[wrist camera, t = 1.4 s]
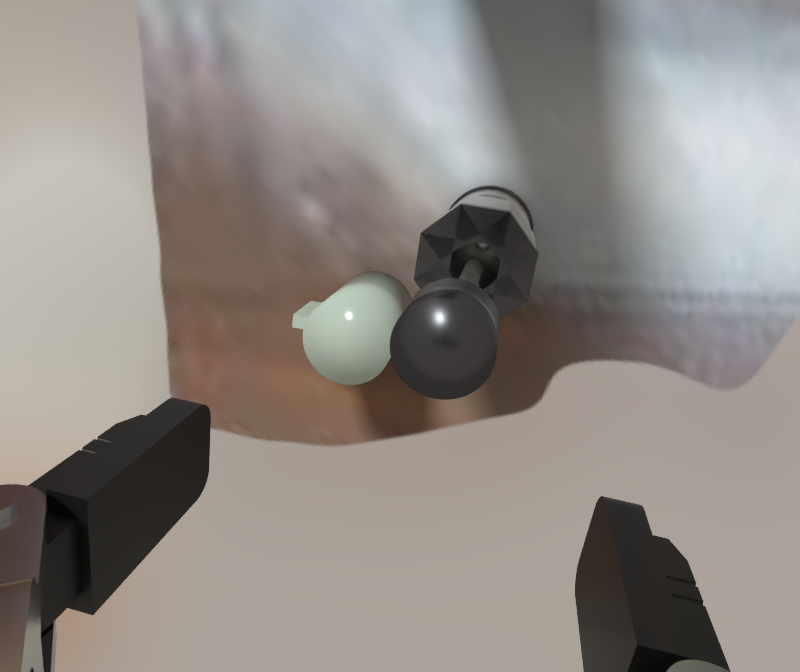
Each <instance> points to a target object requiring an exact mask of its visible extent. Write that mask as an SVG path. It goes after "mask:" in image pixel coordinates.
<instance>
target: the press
mask: <svg viewBox="0 0 800 672" xmlns="http://www.w3.org/2000/svg"><path fill="white" fill-rule="evenodd" d="M537 256H538V250H537V249H536V241H535V234H534V233H533V223H532V218H531V214H530V212H529V210H528V208H527V206H526V204H525V203H524V202H523V201H522V200H521V199H520V198H519V197H518V196H517V195H516V194H514V193H513V192H511V191H509V190H507V189H505V188H502V187H498V186H482V187H477V188H474V189H472V190H470V191H468V192H466V193H465V194H463V195H462V196H461V197H459V198H458V199H457V200H456V201H455V202H454V204H453V205H452V206H451V208H450V209H449V211H447V212H446V213H445V214H443V215H442V216H441V217H439V218H438V219H437V220H436V221H435V222H434V223H433V224H431V225H430V226H429V227H428V228H426V229H425V230H424V231H422V232H421V235H420V242H419V249H418V255H417V262H416V268H415V275H414V280H415V282H416V283H417V285H418V286H419V287H420V289H422V288H423V287H424V286H426V285H428V284H429V283H432V282H434V281H437V280H440V279H446V278H456V279H459V277H460V275H461V273H462V271H463V269H464V266H465V264H466V263H467V261H469V260H471V259H477V260H479V261H480V262H481V263H482V265H483V271H482V274H481V277H480V280H479V284H478V286H479V287H480V288H481V289H483V290H484V291H485V292H486V293H487V294H488V295H489V296H490V298H491V299H492V301H493V302H494V304H495V306H496V308H497V311H498V315H499V318H501V317H503V316H504V315H506V314H507V313H509V312H510V311H512V310H514V309H515V308H517V307H518V306H520V305H522V304H523V303H525V302H526V301H528V297H529V292H530V288H531V283H532V279H533V274H534V270H535V265H536V261H537Z"/></svg>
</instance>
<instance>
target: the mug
mask: <svg viewBox="0 0 800 672" xmlns="http://www.w3.org/2000/svg"><path fill="white" fill-rule="evenodd" d="M411 300H412V299H411V296H410V294H409V292H408V290H407V289H406V287H405V286H404V285H403V284H402V283H401V282H400V281H399V280H398V279H396V278H395V277H393V276H391V275H389V274H387V273H383V272H378V271H370V272H365V273H362V274H359V275H357V276H356V277H354V278H353V279H351V280H350V281H349V282H348V283H346V284H345V285H344V286H343V287H341V288H340V289H339V290H338V291H337V292H335V293H334V294H333V295H332V296H330V297H329V298H328V299H327V300H325V301H324V302H323V303H320V302H315V301H310V302H309V303H308V304H307V305H305V306H304V307H303V308H301V309H300V310H299V311H297V312H296V313H295V314H293V325H292V327H295V328H300V329H304V330H303V345H304V349H305V353H306V355H307V357H308V359H309V361H310V363H311V364H312V365H313V367H314V368H315V369H316V370H317V371H318V372H319V373H320V374H321V375H323V376H324V377H326V378H327V379H329V380H331V381H333V382H336V383H339V384H344V385H358V384H363V383H366V382H368V381H370V380H372V379H374V378H375V377H376V376H378V375H379V374H380V373H381V372H382V370H383V369H384V368H385V366H386V365H387V363H388V361H389V360H390V358H391V356H390V338H391V333H392V330H393V328H394V326H395V324H396V322H397V320H398V319H399V318H400V316H401V315H402V313H403V312H404V310H405V309H406V307H407V306H408V305H409V303H410V302H411Z"/></svg>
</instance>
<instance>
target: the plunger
mask: <svg viewBox="0 0 800 672" xmlns="http://www.w3.org/2000/svg"><path fill="white" fill-rule="evenodd" d="M482 271H483V265H482V263H481V262H480V261H479V260H477V259H471V260H469V261H467V263H466V264H465V266H464V269H463V271H462V273H461V275H460V277H459V279H456V278H446V279H440V280H437V281H434V282H432V283H429V284H428V285H426V286H424V287H423V288H422V289H421V290H419V292H418V293H417V294H416V295H415V296H414V297H413V299H412V300H411V302H410V303H409V305H408V306H407V307H406V309H405V310H404V312H403V313H402V315H401V316H400V318H399V319H398V320H397V322H396V324H395V326H394V328H393V330H392V333H391V338H390V356H391V360H392V363H393V366H394V368H395V370H396V372H397V373H398V375H399V376H400V378H401V379H402V380H403V381H404V382H405V383H406V384H407V385H408V386H409V387H410V388H412V389H413V390H415V391H416V392H418V393H420V394H422V395H425V396H427V397H431V398H435V399H446V400H448V399H456V398H460V397H463V396H466V395H468V394H470V393H472V392H474V391H475V390H477V389H478V388H479V387H480V386H481V385H483V384H484V382H485V381H486V380H487V379H488V377H489V376H490V374H491V372H492V370H493V367H494V364H495V360H496V352H497V344H498V336H499V328H500V321H499V315H498V311H497V308H496V306H495V304H494V302H493V301H492V299H491V298H490V296H489V295H488V294H487V293H486V292H485V291H484V290H483V289H481V288H480V287H479V286H478V284H479V280H480V277H481V274H482Z"/></svg>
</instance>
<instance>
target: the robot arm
mask: <svg viewBox="0 0 800 672" xmlns="http://www.w3.org/2000/svg"><path fill="white" fill-rule="evenodd" d="M210 422H211V415H210V410H209V408H208V406H206V405H203V404H199V403H194V402H190V401H186V400H181V399H177V398H170V399H168V400H167V401H165V402H164V403H162V404H161V405H160V406H158V407H157V408H156V409H154V410H153V411H152V412H150V413H149V414H147V415H146V416H145V415H139V416H137V417H134V418H131V419H128V420H125V421H123V422H120V423H117V424H115V425H114V426H112V427H111V428H110V429H108V430H107V431H105V432H104V433H103V434H101V435H100V436H98V439H97V440H95V439H94V440H93V441H91V442H90V443H88V444H87V445H85V446H84V447H83V449H82V451H80V450H78V451H77V452H75V453H74V454H73V455H71V456H70V457H68V458H67V459H65V460H64V461H63V462H61V463H60V464H58V465H57V466H56V467H54V468H53V469H51V470H50V471H48V472H47V473H45V474H44V475H43V476H41V477H40V478H38V479H37V480H36V481H34V482H33V483H31V484H30V485H28V486H26V485H19V484H7V485H0V672H54V667H55V651H56V633H57V632H56V619H57V617H59V616H60V614H61V613H62V612H63V611H64V610H65V609H66V608H70V609H73V610H77V611H80V612H84V613H88V614H91V615H94V614H95V612H96V611H97V610H98V609H99V608H100V607H101V606H102V604H104V602H105V601H106V600H107V599H108V598H109V597H110V596H111V595H112V594H113V593H114V591H115V590H116V589H117V588H118V587H119V586H120V585H121V584H122V583H123V581H124V580H125V579H126V578H127V577H128V576H129V575H130V574H131V573H132V571H133V570H134V569H135V568H136V567H137V566H138V565H139V564H140V563H141V561H142V560H143V559H144V558H145V557H146V556H147V555H148V554H149V553H150V552H151V550H152V549H153V548H154V547H155V546H156V545H157V544H158V543H159V542H160V540H161V539H162V538H163V537H164V536H165V535H166V533H167V532H169V530H170V529H171V528H172V527H173V526H174V525H175V524H176V523H177V522H178V520H179V519H180V518H181V517H182V516H183V515H184V514H185V513H186V512H187V510H188V509H189V508H190V507H191V506H192V505H193V504H194V503H195V502H196V501H197V499H198V498H199V497H200V495H201V493H202V491H203V489H204V487H205V484H206V481H207V478H208V473H209V453H210ZM695 585H696V582H695V579H694V576H693V574H692V571H691V569H690V566H689V564H688V561H687V560H686V559H685V557H684V556H683V555H682V554H681V553H680V552H679V551H678V549H676V547H675V546H674V545H673V544H672V543H671V542H670V540H669V539H666V538H662V537H657V536H653V535H652V532H651V529H650V526H649V523H648V520H647V517H646V514H645V511H644V508H643V507H642V506H641V505H638V504H633V503H629V502H625V501H621V500H616V499H612V498H607V497H603V496H601V497H600V498H599V499H598V501H597V503H596V506H595V509H594V513H593V516H592V519H591V523H590V526H589V529H588V532H587V536H586V539H585V542H584V546H583V549H582V552H581V556H580V559H579V563H578V567H577V573H576V582H575V597H576V605H577V615H578V624H579V633H580V641H581V650H582V659H583V668H584V672H730V669H729V667H728V664H727V661H726V659H725V656H724V654H723V651H722V649H721V646H720V643H719V641H718V638H717V636H716V633H715V631H714V628H713V625H712V623H711V620H710V618H709V615H708V613H707V610H706V607H705V606H703V600H702V597H701V595H700V592H699V589H698V587H696V586H695Z"/></svg>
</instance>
